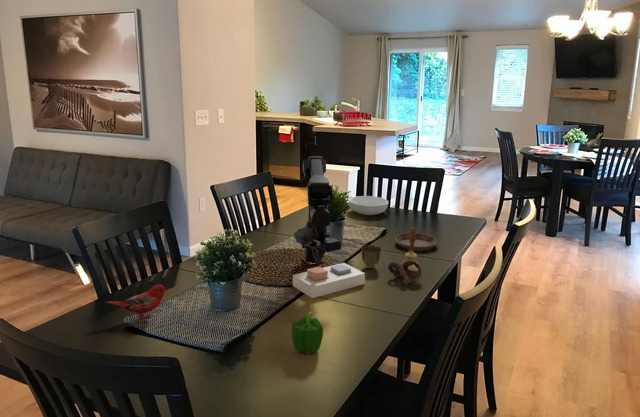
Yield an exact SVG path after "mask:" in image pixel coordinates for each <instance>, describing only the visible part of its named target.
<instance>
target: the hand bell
mask: <svg viewBox="0 0 640 417" xmlns="http://www.w3.org/2000/svg"><path fill="white" fill-rule="evenodd" d="M409 233H410V234H409V240H410V249H409V250H408V252H406V253H405V255H404V259H403V261H402V262H404V261H406V260H411V261H414V262H416V263H418V264H419V262H418V261H419V260H418V255H417V253H415V252H414V243H415V240H416V233H417V231H416V227H411V229H410V231H409ZM408 269H409V270H411V271H415V272H419V271H418V270H419V269H418V268H417V267H416V266H415V265H410V266H409V267H408Z"/></svg>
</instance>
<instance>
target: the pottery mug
mask: <svg viewBox="0 0 640 417" xmlns="http://www.w3.org/2000/svg"><path fill="white" fill-rule="evenodd" d="M410 265H415V266H416V267H417V268H418V269H419V271H417V273H414V274H413V272H412V271H411V270H409V269H408V267H409V266H410ZM387 268H388V270H389V272H390V273H391V274H392V275H393V276H394V278H396V277H399V276H400V275H401V276H402V277H403V278H404V279H403V280H402V284H404V285H405V284H407V285H408V284H410V283H414V282H417V281H418V280H419V279H421V277H422V275H423V274H422V267H421V265H420V263H419V262H418V263H416V262H414V261H411V260H406V261H404V262H403V261H402V262H401V263H397V262H393V261H392V262H390V263H389V264H388V266H387Z"/></svg>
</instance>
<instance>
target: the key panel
mask: <svg viewBox="0 0 640 417" xmlns="http://www.w3.org/2000/svg"><path fill="white" fill-rule="evenodd" d="M341 264H343V265H345V266H347V267H349V268H351V273H348V274H344V275H340V276H339V275H337V274H335V273H333V272H331V267H332V266H336V265H341ZM322 268H323V269H325V270H327V271H328V277H327V279H324V280H320V281H316V282H314V281H313V280H311V279H309V278H307V271H303V272H301V273H296V274H292V287H294V288H296V289H297V290H299V291H300V292H302V293H303V294H304V295H306V296H307V297H309V298H311V299H315V298H318V297H322V296H325V295H326V296H327V295H329V294H334V293H337V292H340V291H344V290H348V289H352V288H355V287H360V286H362V285H365V282H366V273H365V272H363V271H361V270H359V269H357V268H355V267H353V266H351V265H349V264H347V263H346V262H342V263H338V264H333V265H330V266H329V265H328V266H325V267H322Z"/></svg>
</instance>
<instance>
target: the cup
mask: <svg viewBox="0 0 640 417" xmlns="http://www.w3.org/2000/svg"><path fill="white" fill-rule="evenodd" d="M360 251H361V259H362V262H363V263H364V265H365V268H366V269H370V270H371V269H373V270H374V269H375V267H376V265H377V264H378V263H379V261H380V258H381V254H382V253H381V252H382V248H381V246H378V245H375V244H373V245H372V244H370V245H369V244H367V245H365V244H364V245H363V246H361V250H360Z"/></svg>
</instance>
